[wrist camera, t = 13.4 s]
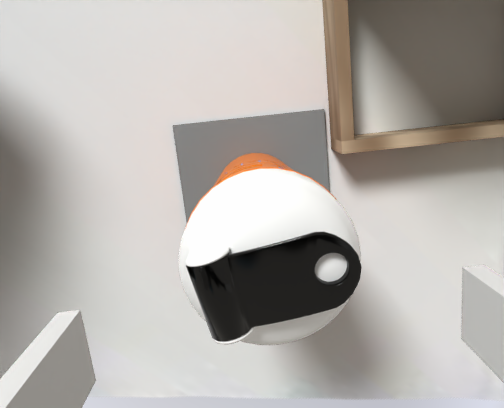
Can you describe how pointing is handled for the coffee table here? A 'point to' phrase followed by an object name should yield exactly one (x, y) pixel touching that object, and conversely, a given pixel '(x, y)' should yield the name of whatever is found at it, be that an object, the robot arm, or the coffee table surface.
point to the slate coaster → (249, 148)
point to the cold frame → (343, 106)
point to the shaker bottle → (268, 254)
